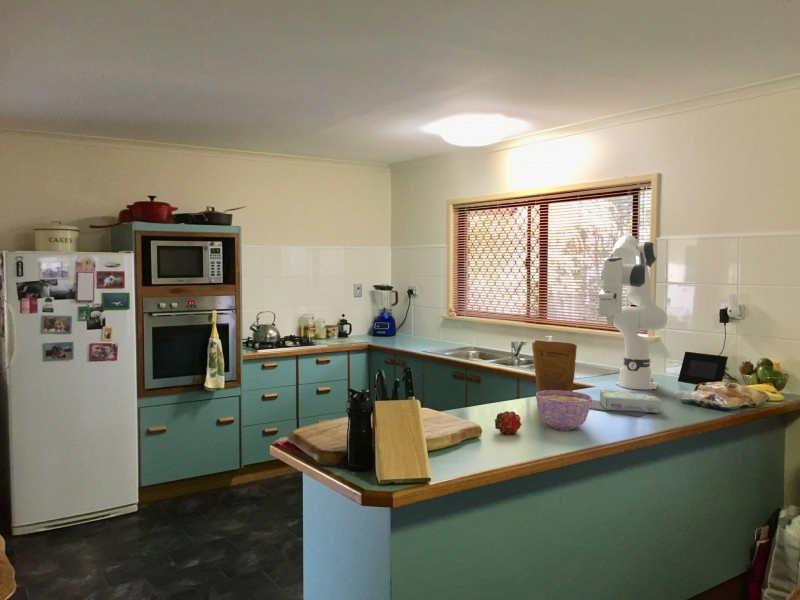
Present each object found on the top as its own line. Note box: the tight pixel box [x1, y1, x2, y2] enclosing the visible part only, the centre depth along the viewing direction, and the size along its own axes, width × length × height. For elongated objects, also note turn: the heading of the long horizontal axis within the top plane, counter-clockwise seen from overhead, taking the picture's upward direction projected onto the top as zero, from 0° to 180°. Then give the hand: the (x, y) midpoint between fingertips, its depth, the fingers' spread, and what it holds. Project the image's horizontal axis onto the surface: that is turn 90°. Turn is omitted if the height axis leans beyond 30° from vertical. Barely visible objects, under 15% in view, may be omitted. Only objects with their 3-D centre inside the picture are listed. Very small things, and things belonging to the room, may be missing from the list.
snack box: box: [599, 390, 661, 414], centre depth 273 cm, size 21×6×15 cm
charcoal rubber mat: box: [589, 399, 649, 418], centre depth 274 cm, size 16×26×1 cm, turn 54°
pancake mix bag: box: [531, 340, 578, 407], centre depth 268 cm, size 7×19×28 cm, turn 45°
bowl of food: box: [535, 390, 593, 431], centre depth 241 cm, size 20×20×12 cm
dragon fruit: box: [494, 411, 523, 435], centre depth 231 cm, size 8×8×12 cm
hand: (610, 325), depth 293 cm, fingers closed
